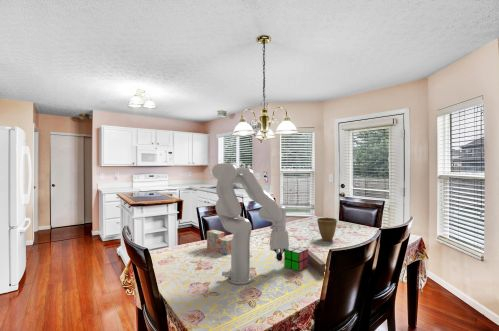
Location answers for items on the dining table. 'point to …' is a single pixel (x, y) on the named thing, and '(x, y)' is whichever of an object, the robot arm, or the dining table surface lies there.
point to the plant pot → (327, 228)
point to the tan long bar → (316, 263)
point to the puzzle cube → (296, 258)
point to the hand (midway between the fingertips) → (279, 260)
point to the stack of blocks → (219, 242)
